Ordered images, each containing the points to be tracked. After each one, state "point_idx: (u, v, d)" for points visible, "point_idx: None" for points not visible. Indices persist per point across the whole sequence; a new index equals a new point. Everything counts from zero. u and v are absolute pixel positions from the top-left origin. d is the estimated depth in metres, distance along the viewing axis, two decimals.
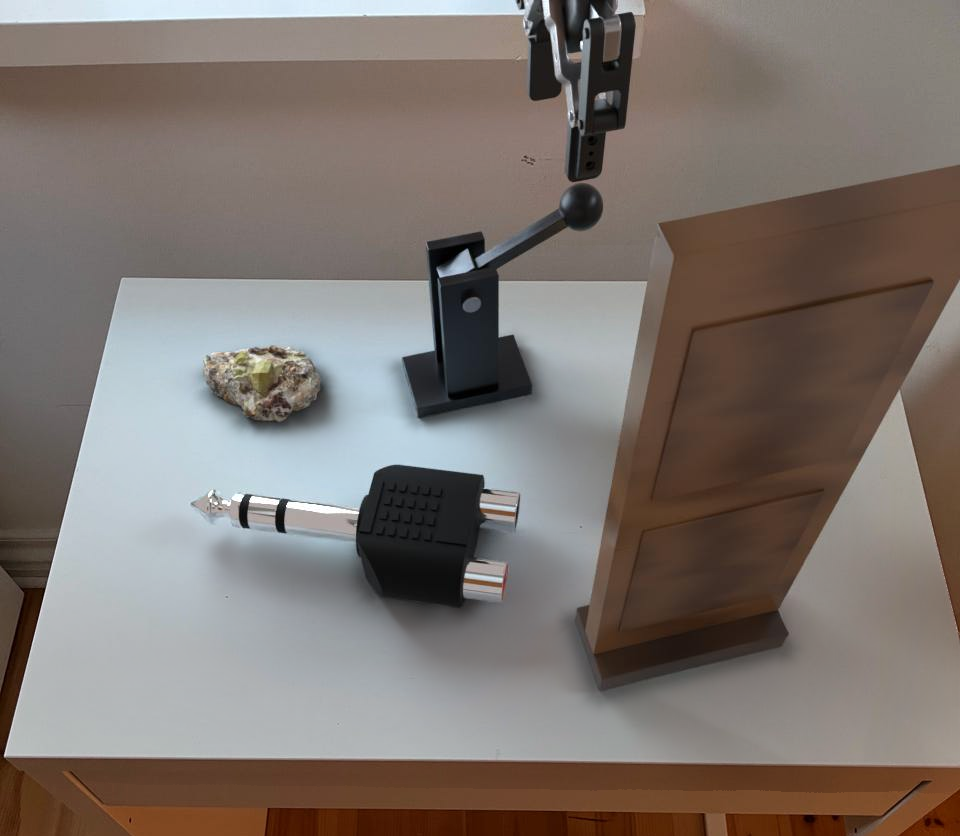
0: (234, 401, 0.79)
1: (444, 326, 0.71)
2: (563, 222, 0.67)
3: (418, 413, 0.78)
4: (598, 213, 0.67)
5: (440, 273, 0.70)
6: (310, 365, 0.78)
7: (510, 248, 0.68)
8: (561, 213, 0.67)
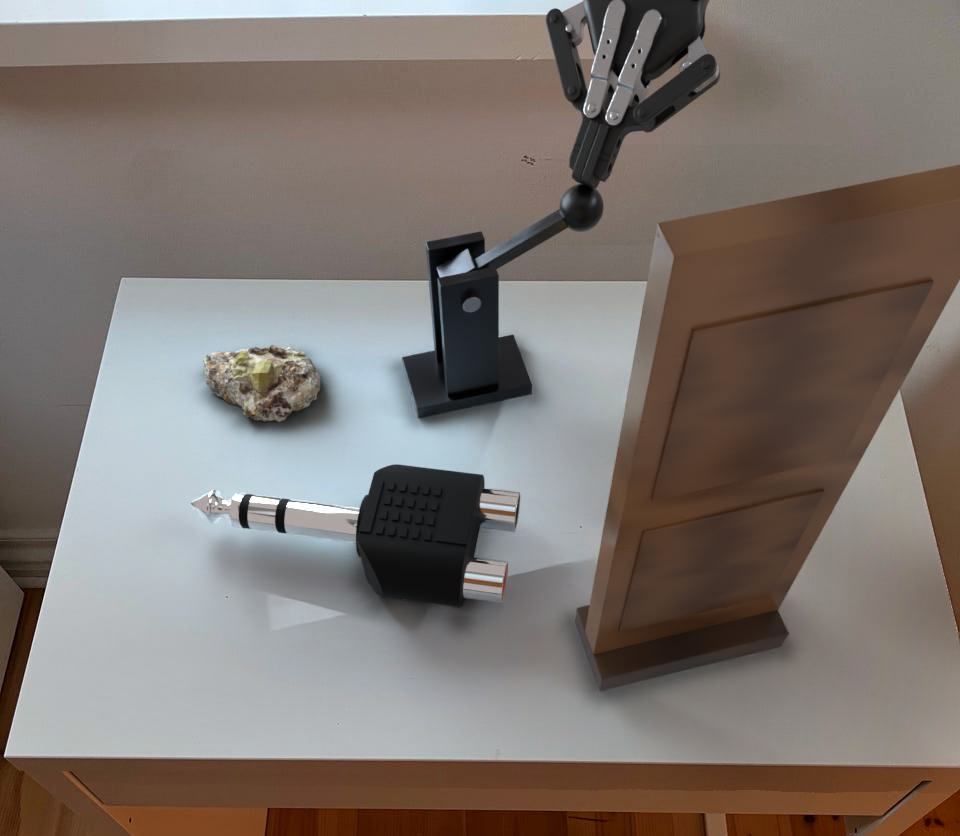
0: (234, 401, 0.79)
1: (444, 326, 0.71)
2: (563, 223, 0.67)
3: (418, 413, 0.78)
4: (598, 213, 0.67)
5: (440, 273, 0.70)
6: (310, 365, 0.78)
7: (510, 248, 0.68)
8: (561, 214, 0.67)
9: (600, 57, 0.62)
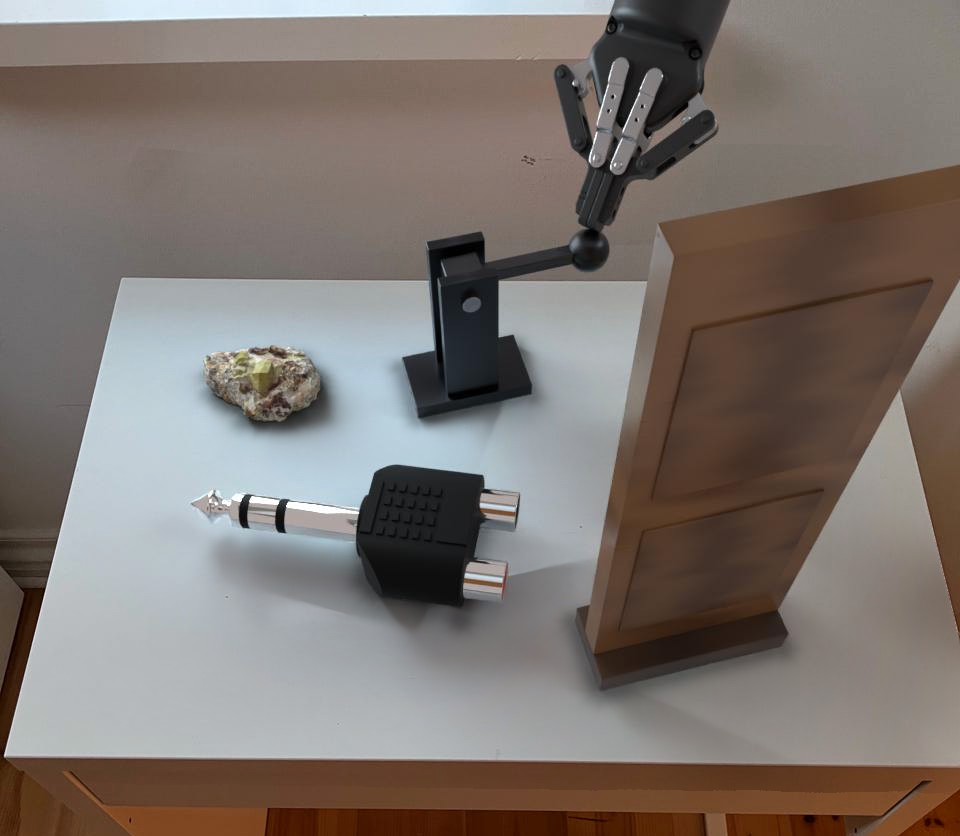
0: (234, 401, 0.79)
1: (444, 326, 0.71)
2: (571, 258, 0.70)
3: (418, 413, 0.78)
4: (605, 260, 0.71)
5: (444, 266, 0.69)
6: (310, 365, 0.78)
7: (517, 265, 0.70)
8: (572, 249, 0.70)
9: (605, 111, 0.65)
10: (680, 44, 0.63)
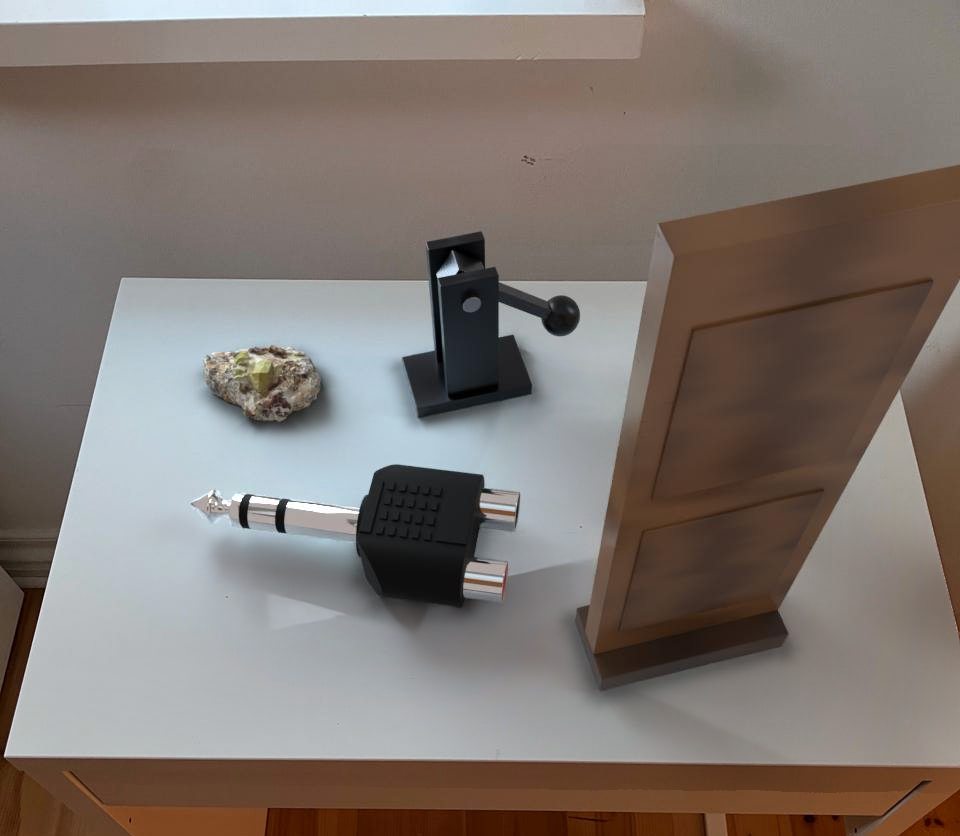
0: (234, 401, 0.79)
1: (444, 326, 0.71)
2: (549, 314, 0.75)
3: (418, 413, 0.78)
4: (572, 331, 0.76)
5: (456, 257, 0.69)
6: (310, 365, 0.78)
7: (511, 294, 0.72)
8: (553, 307, 0.75)
9: None
10: None
